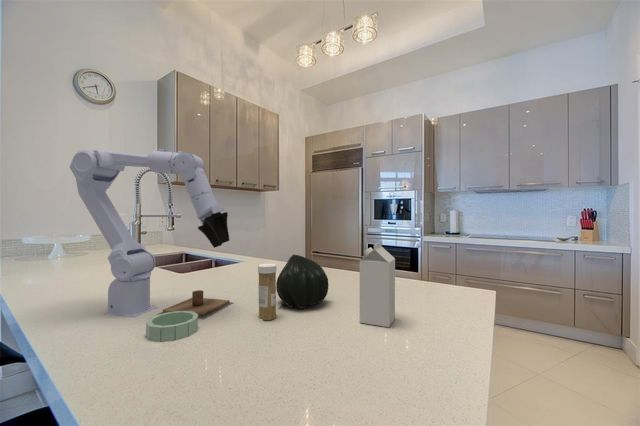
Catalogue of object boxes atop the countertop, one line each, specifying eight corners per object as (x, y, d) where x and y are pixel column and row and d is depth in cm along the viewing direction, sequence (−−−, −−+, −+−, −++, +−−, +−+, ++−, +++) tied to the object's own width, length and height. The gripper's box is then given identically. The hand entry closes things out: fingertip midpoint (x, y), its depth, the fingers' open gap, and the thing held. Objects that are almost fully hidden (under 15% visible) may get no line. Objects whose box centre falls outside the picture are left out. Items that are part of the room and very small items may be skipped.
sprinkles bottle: (279, 318, 74) (279, 264, 74) (262, 322, 72) (262, 266, 72) (271, 313, 78) (271, 262, 78) (255, 316, 76) (255, 263, 76)
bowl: (135, 339, 62) (135, 324, 62) (170, 322, 72) (170, 309, 72) (175, 345, 59) (175, 329, 59) (207, 326, 69) (207, 313, 69)
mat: (156, 316, 76) (156, 314, 76) (192, 300, 90) (192, 299, 90) (203, 321, 73) (203, 319, 73) (234, 304, 86) (234, 302, 86)
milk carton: (395, 318, 75) (395, 242, 75) (389, 328, 68) (389, 245, 68) (367, 314, 78) (367, 241, 78) (359, 323, 71) (359, 243, 71)
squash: (343, 288, 82) (322, 245, 90) (296, 299, 74) (277, 250, 82) (323, 312, 91) (304, 270, 99) (279, 324, 83) (263, 277, 91)
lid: (162, 313, 77) (162, 296, 77) (193, 300, 88) (193, 285, 88) (203, 317, 74) (203, 299, 74) (229, 303, 85) (229, 287, 85)
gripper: (223, 184, 74) (244, 234, 74) (211, 199, 86) (228, 242, 86) (195, 191, 70) (216, 244, 70) (186, 206, 82) (204, 252, 82)
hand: (221, 244), depth 78 cm, fingers open, 7 cm apart
